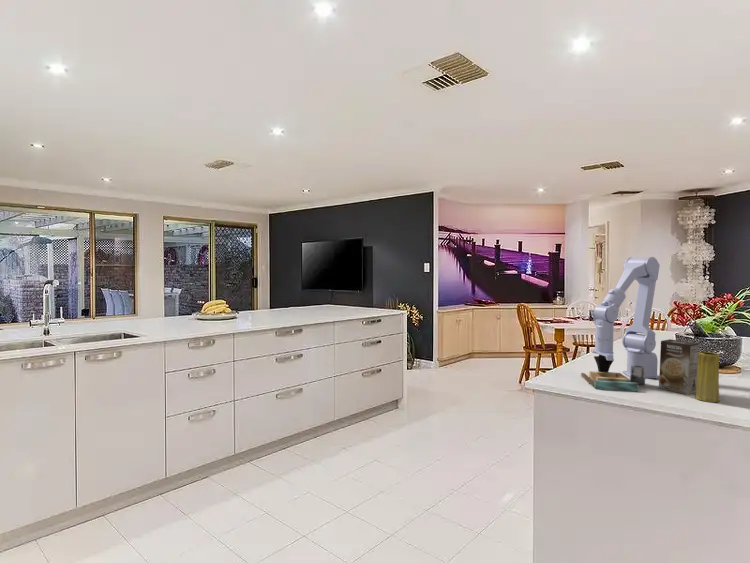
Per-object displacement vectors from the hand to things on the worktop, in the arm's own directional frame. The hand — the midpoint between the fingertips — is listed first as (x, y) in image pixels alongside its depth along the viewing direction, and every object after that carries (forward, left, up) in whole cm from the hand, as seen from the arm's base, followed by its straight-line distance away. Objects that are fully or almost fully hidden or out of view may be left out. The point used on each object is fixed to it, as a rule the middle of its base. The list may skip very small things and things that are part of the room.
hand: (603, 376), depth 164 cm
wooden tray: (0, +6, -1) cm, 6 cm away
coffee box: (-20, +10, -1) cm, 22 cm away
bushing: (-10, +4, -1) cm, 11 cm away
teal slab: (0, +5, -1) cm, 5 cm away
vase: (-24, +20, -1) cm, 31 cm away
